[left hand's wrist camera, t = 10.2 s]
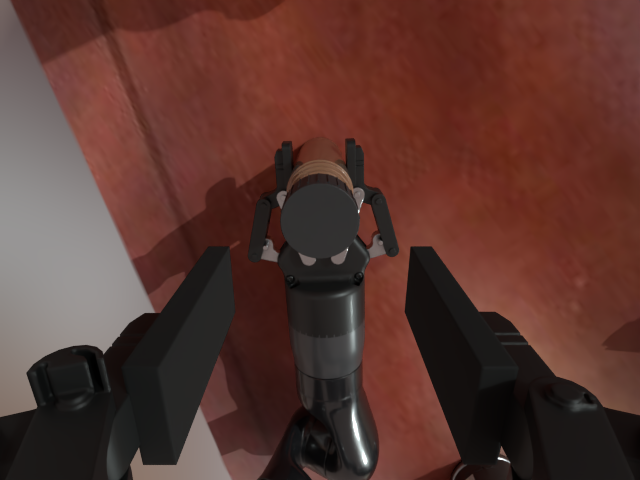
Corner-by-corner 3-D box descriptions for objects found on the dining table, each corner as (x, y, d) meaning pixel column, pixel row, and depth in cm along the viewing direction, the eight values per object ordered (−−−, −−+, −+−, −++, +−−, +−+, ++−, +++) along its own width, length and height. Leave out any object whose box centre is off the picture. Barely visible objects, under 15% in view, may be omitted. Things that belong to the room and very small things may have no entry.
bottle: (309, 190, 40) (300, 271, 22) (289, 149, 39) (262, 200, 21) (349, 171, 40) (375, 239, 21) (331, 129, 38) (341, 163, 20)
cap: (303, 252, 24) (301, 271, 22) (271, 191, 23) (265, 203, 20) (367, 224, 23) (372, 240, 21) (338, 160, 22) (340, 168, 20)
